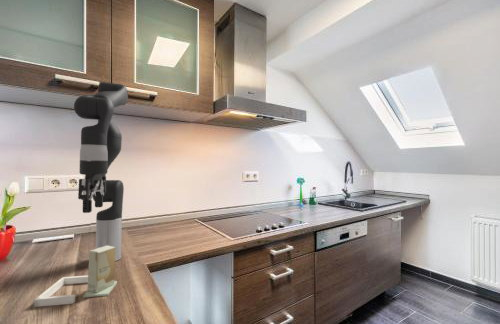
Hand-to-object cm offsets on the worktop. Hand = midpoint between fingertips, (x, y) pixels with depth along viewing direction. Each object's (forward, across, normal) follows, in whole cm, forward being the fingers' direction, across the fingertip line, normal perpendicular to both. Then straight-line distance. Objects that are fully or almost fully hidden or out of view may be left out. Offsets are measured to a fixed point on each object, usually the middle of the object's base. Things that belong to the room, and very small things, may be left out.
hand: (93, 209), depth 76 cm
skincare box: (+25, +2, +3) cm, 25 cm away
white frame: (+25, +2, -6) cm, 26 cm away
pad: (+25, +2, +3) cm, 25 cm away
